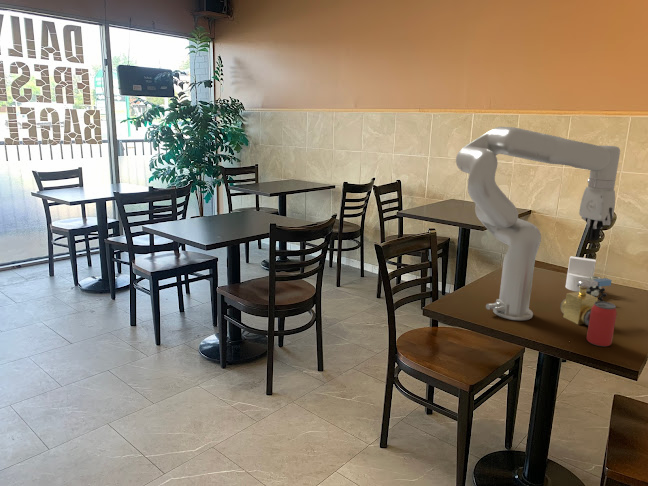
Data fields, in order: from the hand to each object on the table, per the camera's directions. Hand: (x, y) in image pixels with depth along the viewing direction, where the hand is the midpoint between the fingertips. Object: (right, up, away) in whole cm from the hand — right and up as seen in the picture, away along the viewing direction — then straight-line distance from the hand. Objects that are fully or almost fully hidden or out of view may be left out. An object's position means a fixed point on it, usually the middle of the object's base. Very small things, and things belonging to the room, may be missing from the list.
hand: (592, 239), depth 168 cm
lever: (-2, -15, -4) cm, 16 cm away
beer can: (-8, -31, -18) cm, 37 cm away
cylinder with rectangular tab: (+9, -19, +28) cm, 36 cm away
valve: (+11, -21, +19) cm, 31 cm away
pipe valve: (-6, -26, -2) cm, 27 cm away
